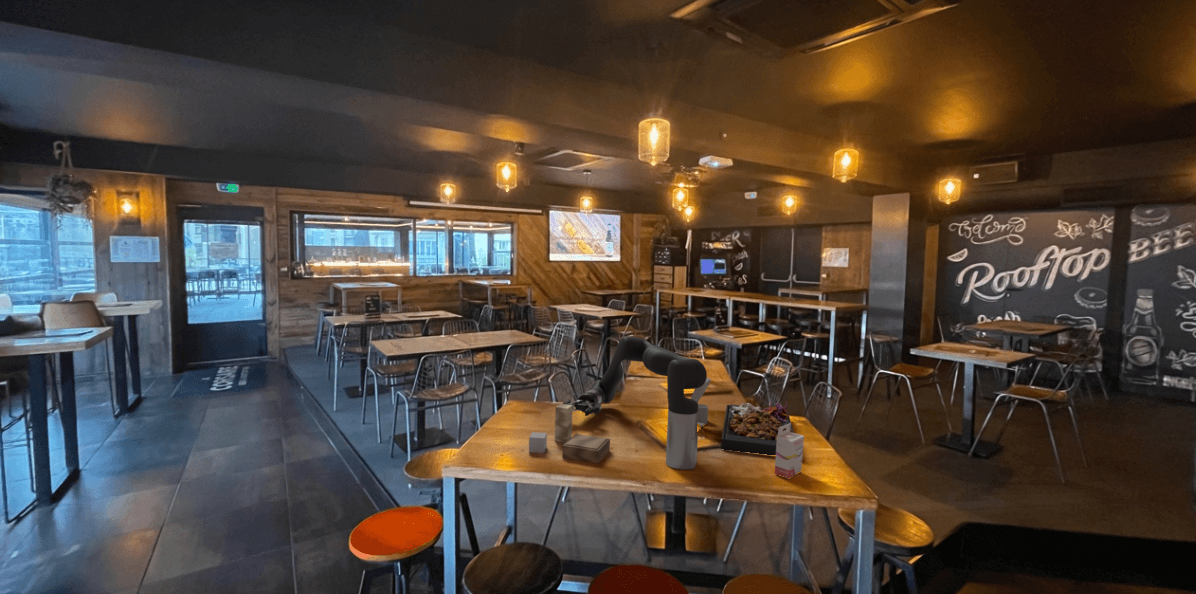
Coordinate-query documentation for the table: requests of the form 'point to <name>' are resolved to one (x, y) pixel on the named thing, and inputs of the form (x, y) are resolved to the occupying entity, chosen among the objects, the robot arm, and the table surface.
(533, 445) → the stone cube
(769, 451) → the food platter
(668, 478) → the table surface
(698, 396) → the phone holder
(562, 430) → the oak block
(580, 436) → the walnut riser
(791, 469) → the ink cartridge box
